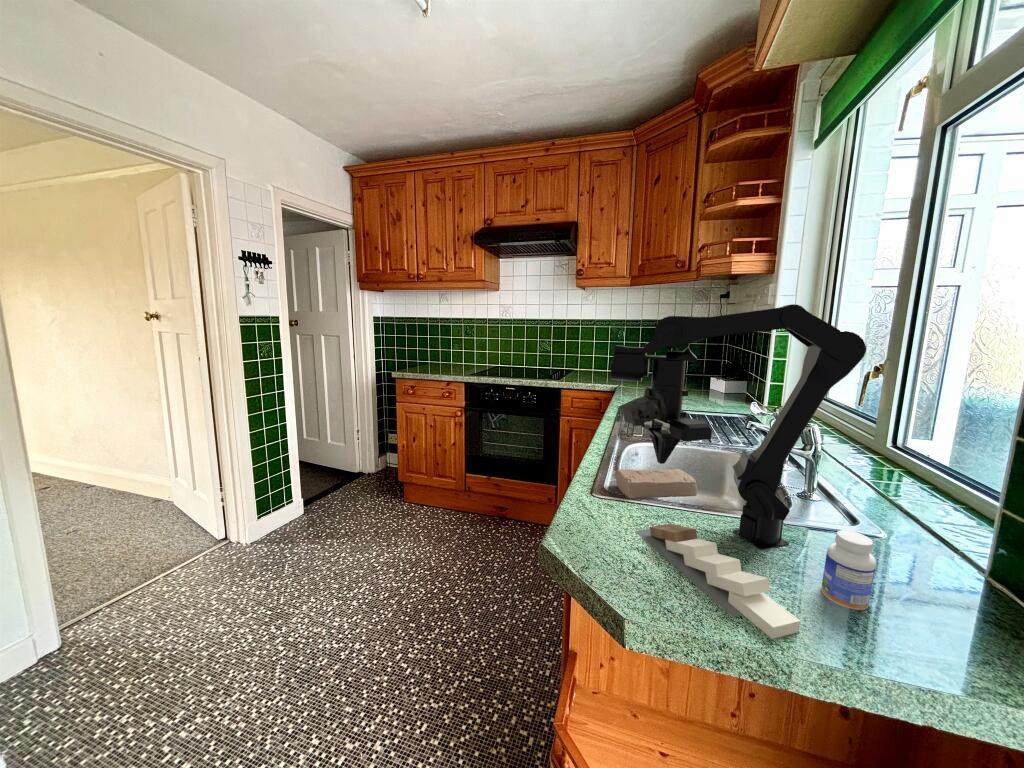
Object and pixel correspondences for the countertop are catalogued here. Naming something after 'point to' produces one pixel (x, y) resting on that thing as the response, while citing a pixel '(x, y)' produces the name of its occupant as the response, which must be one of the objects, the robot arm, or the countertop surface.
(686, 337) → the robot arm
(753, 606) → the tile
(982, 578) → the countertop surface
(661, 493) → the brick
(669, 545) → the tile
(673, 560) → the mat
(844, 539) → the pill bottle
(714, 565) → the tile
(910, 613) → the countertop surface
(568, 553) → the countertop surface
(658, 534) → the walnut domino
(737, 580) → the tile
